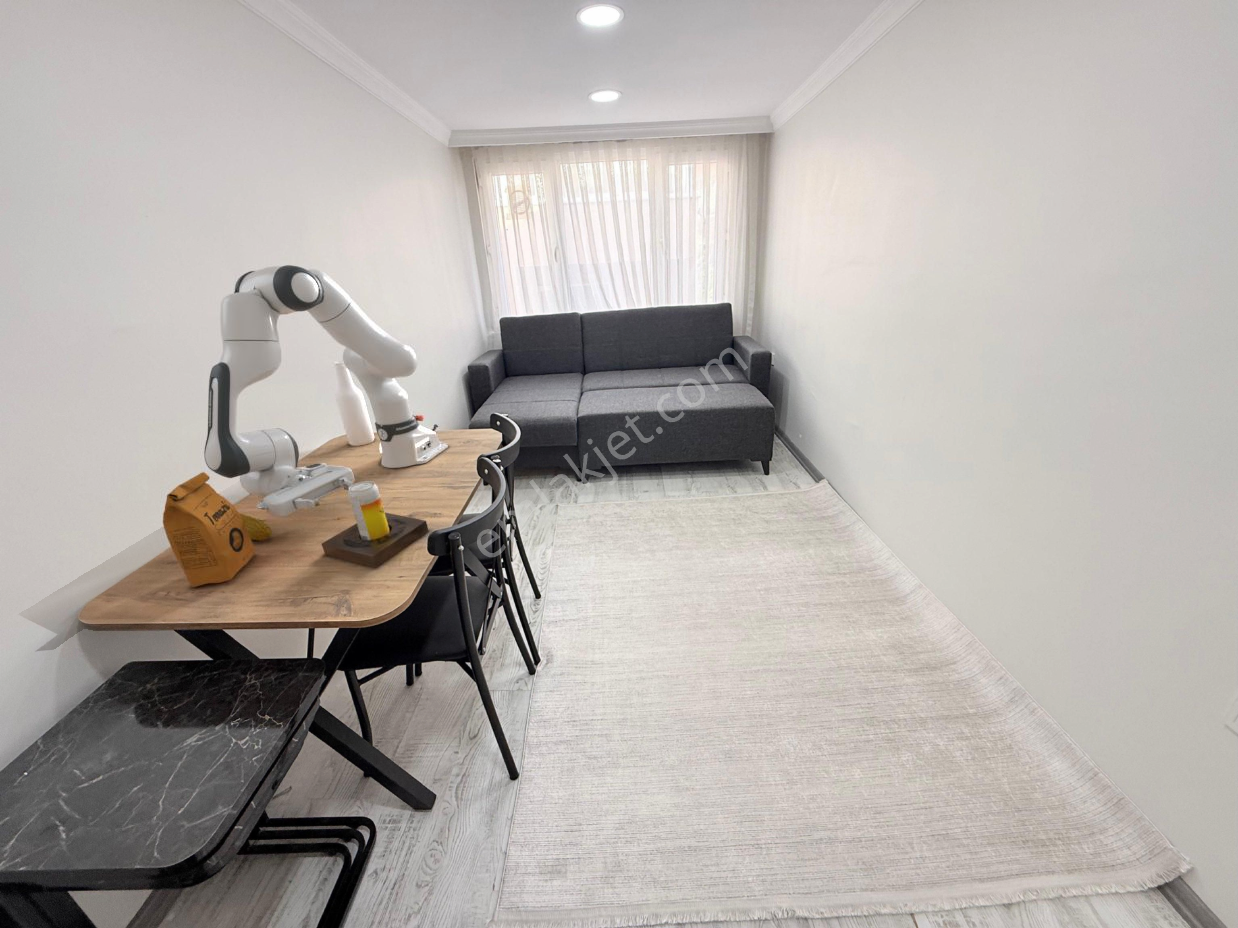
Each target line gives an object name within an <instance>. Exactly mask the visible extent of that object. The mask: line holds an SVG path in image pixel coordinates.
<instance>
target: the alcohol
mask: <svg viewBox="0 0 1238 928" xmlns="http://www.w3.org/2000/svg"><path fill="white" fill-rule="evenodd" d="M333 365H334V368H335V372H336V377H337V382H338V389H337V392H336V394H335V400H336V404H337V407H338V411H339V413H340V418H341V421H342V425H343V429H344V431H345V435H346V438H347V442H348V444H349V445H351V446H353V447H359V446H360V447H361V446H365V445H368V444H371V443H373V442H374V441H375V438H376V437H375V434H374V431H373V426H372V423H371V419H370V416H369V412H368V408H367V404H366V400H365V396H364V394H363V392H362V390H361V389H359V388H358V387H357V386H356V385H355V384H354V381H353V379H352V375H351V373H350V370H348V369H347V367H346V366H345V364H344V362H343V360H337V361H334V362H333Z"/></svg>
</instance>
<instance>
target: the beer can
mask: <svg viewBox="0 0 1238 928" xmlns="http://www.w3.org/2000/svg"><path fill="white" fill-rule="evenodd" d="M347 491H348V492H347V496H348V499H349V503H350V505H351V509H352V512H353V515H354V518H355V523H357V525H358V529H359V532H360V535H361V538H362V540H374V539H378V538H381V537H383V536H385V535H387V534H388V533H390V530H389V527H388V523H387V519H386V516H385V513H386V512H385V508H384V505H383V501H382V498H381V494H380V491H379V487H378V485H377V484H376V483H375V481H371V480H363V481H359V482H356V483H353V485H352V486H350V487H349V490H347Z"/></svg>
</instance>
